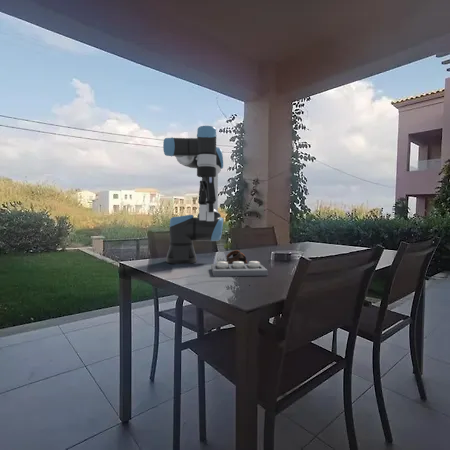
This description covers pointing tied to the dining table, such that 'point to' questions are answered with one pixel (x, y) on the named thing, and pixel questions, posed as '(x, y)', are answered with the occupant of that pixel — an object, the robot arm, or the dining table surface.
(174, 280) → the dining table surface
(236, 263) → the button mid
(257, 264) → the button
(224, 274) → the board
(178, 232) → the robot arm
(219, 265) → the button
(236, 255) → the brown looped knot
